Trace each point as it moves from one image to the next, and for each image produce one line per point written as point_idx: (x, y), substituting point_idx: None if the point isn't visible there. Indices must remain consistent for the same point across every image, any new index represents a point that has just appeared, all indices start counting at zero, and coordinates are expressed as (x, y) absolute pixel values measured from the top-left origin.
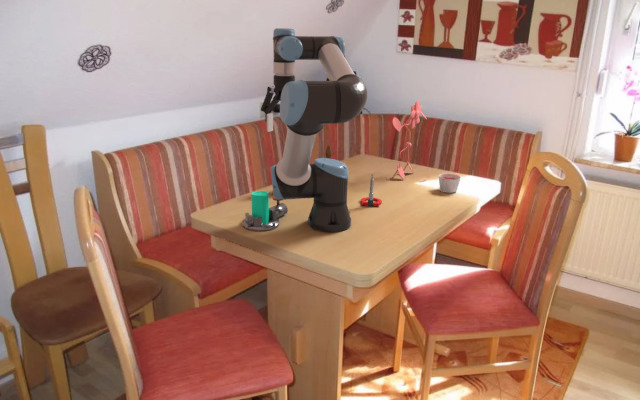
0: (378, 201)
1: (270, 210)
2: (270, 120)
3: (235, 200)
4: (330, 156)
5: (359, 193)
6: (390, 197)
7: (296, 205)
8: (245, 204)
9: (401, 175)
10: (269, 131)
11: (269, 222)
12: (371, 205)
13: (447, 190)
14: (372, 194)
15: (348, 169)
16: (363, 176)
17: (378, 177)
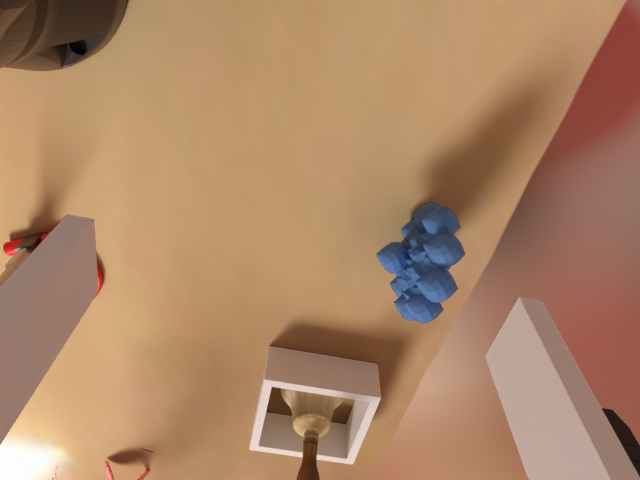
0: None
1: None
2: (549, 437)
3: (588, 51)
4: (298, 474)
5: (150, 328)
6: None
7: (288, 120)
8: (519, 21)
9: (109, 474)
10: (511, 312)
11: None
12: (29, 236)
13: None
14: (7, 266)
15: (249, 448)
16: (228, 451)
17: (183, 457)
